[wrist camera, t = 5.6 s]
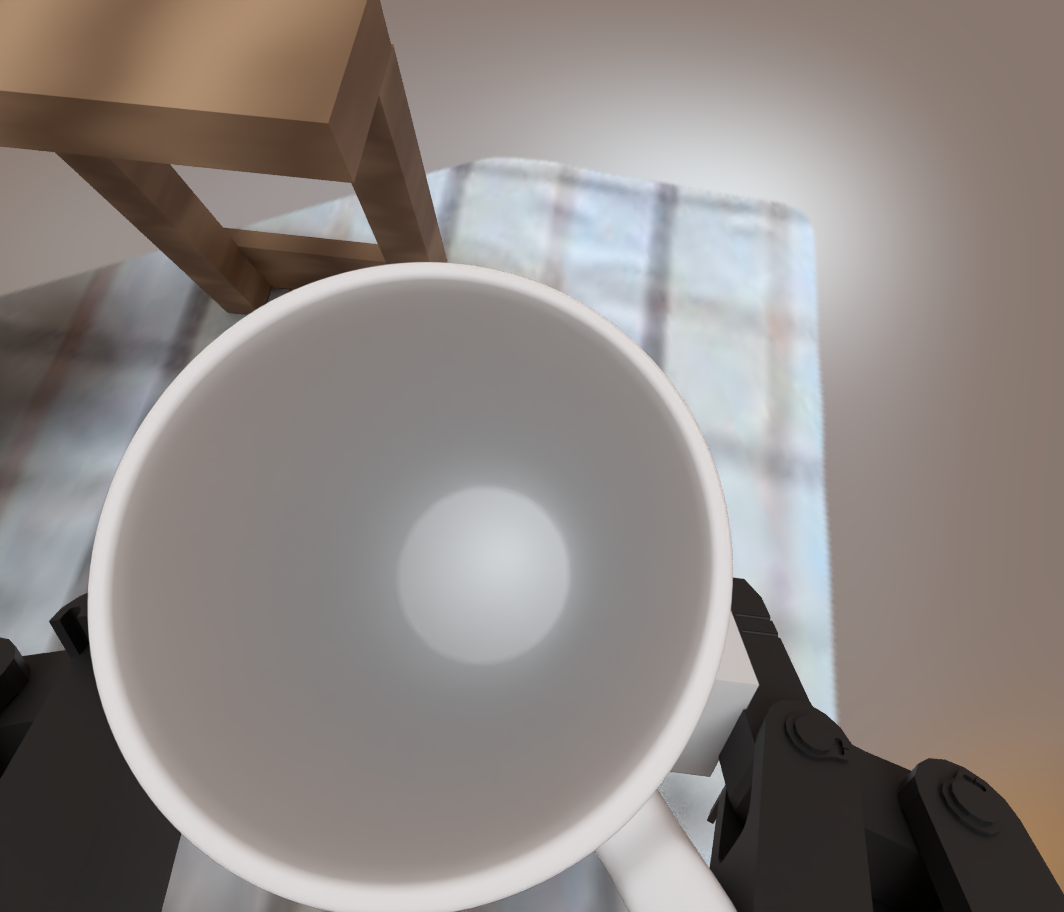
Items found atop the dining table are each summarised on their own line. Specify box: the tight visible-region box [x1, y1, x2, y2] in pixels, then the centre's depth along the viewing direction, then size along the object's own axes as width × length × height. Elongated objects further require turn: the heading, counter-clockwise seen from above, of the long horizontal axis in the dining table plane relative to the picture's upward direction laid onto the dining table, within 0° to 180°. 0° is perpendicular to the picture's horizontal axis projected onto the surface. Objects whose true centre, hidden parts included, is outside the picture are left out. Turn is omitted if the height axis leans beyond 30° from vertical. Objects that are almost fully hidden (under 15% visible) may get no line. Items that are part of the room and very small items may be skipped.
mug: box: [88, 262, 737, 912], centre depth 10 cm, size 10×7×12 cm, turn 35°
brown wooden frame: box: [0, 0, 447, 315], centre depth 23 cm, size 15×7×18 cm, turn 83°
